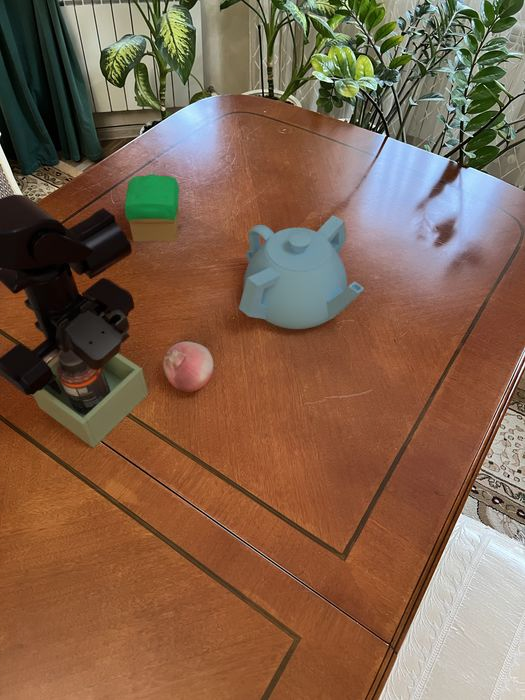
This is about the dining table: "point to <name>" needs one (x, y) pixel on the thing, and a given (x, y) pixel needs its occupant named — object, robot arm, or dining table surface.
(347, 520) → the dining table surface
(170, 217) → the cake
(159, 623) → the dining table surface
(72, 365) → the supplement bottle
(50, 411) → the waste bin
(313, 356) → the dining table surface
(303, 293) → the teapot
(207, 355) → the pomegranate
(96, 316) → the robot arm
